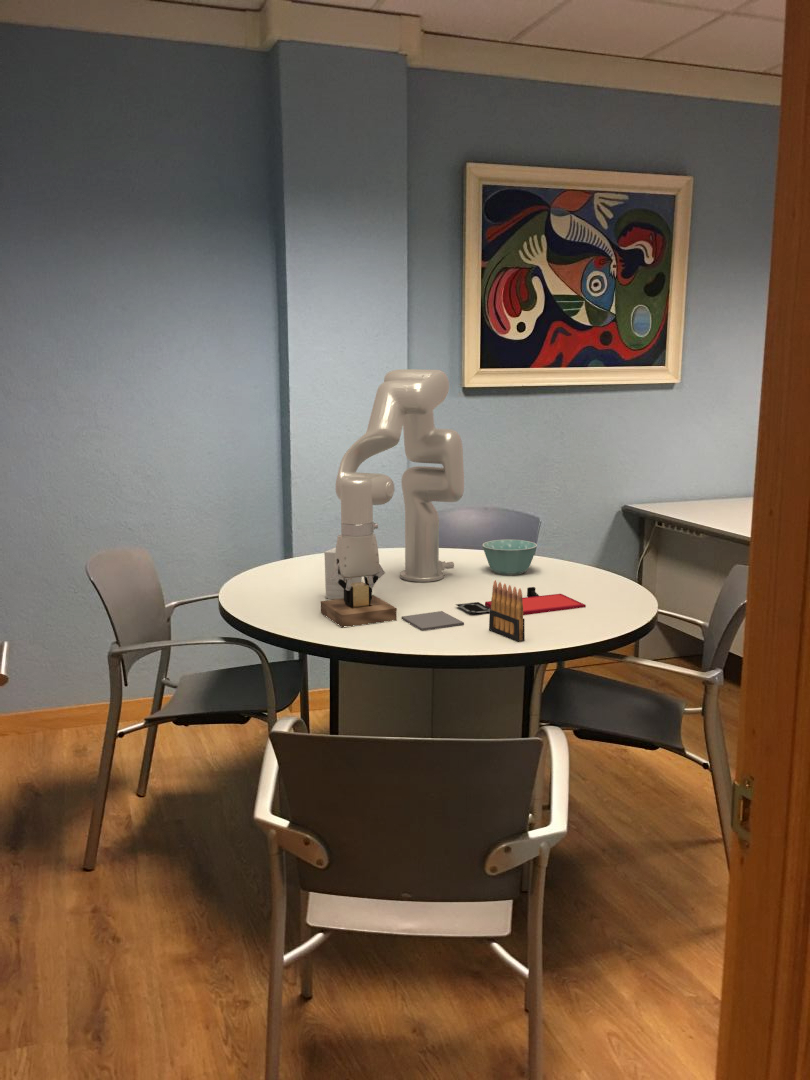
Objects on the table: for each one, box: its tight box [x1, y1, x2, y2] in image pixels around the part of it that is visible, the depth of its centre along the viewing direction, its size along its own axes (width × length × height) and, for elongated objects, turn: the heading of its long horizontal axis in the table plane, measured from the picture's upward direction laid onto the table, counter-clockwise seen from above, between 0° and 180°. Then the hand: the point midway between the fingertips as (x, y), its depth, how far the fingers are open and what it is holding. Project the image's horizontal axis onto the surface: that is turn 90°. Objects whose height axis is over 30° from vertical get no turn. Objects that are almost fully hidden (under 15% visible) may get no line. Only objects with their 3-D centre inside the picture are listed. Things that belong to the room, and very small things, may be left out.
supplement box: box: [323, 546, 363, 600], centre depth 241 cm, size 7×7×13 cm
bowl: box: [481, 539, 538, 576], centre depth 269 cm, size 16×16×8 cm
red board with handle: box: [455, 586, 587, 616], centre depth 233 cm, size 30×3×15 cm
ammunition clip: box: [488, 580, 525, 643], centre depth 207 cm, size 11×2×12 cm, turn 32°
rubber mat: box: [400, 610, 465, 632], centre depth 219 cm, size 11×11×1 cm
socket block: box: [320, 594, 398, 628], centre depth 224 cm, size 14×14×3 cm
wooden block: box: [347, 581, 369, 609], centre depth 223 cm, size 4×4×8 cm
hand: (358, 603), depth 223 cm, fingers closed on wooden block, 4 cm apart
